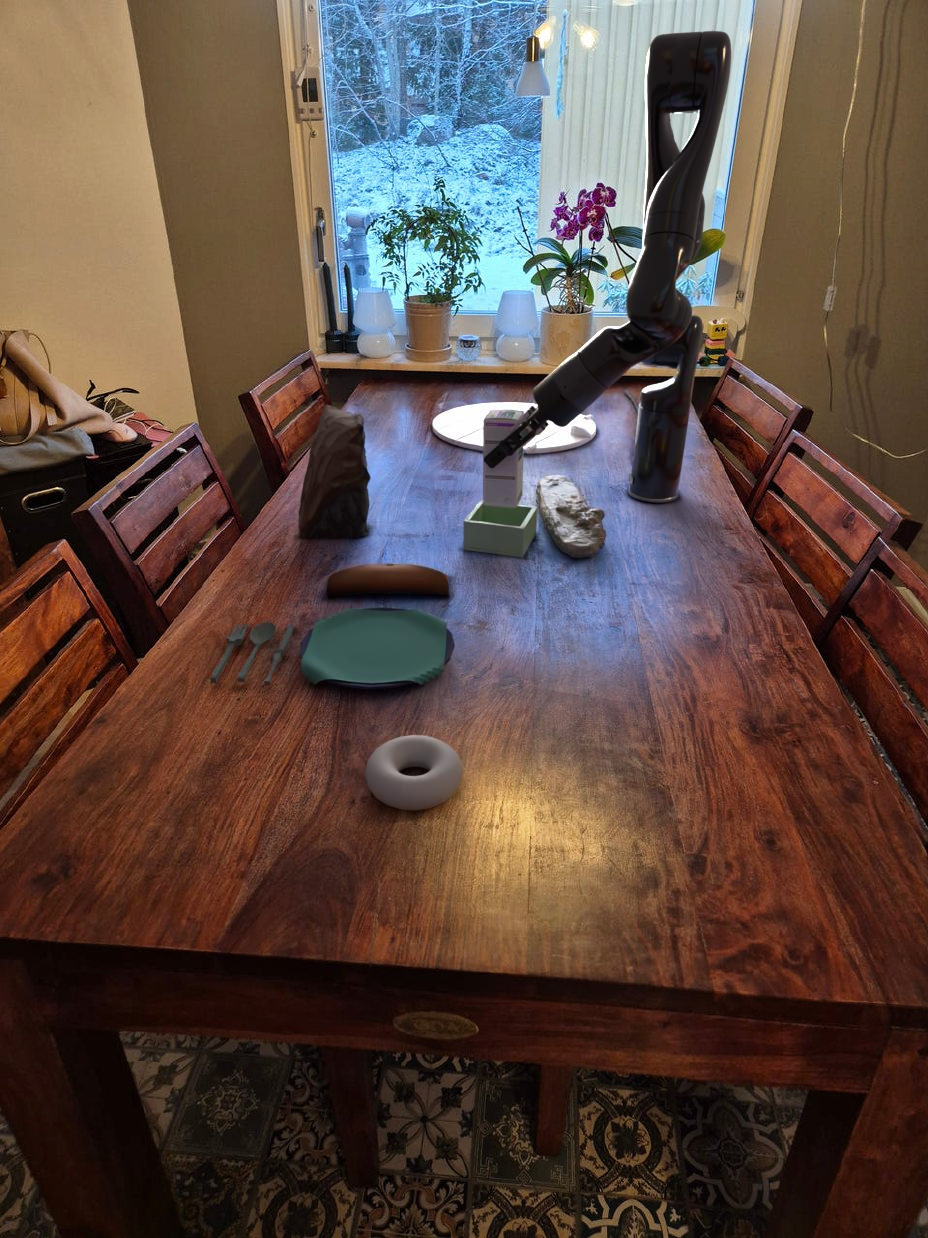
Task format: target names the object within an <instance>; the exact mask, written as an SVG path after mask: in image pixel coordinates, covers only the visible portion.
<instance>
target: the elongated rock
mask: <svg viewBox="0 0 928 1238" xmlns="http://www.w3.org/2000/svg"><path fill="white" fill-rule="evenodd" d="M535 494H536V499H535V502H536V504H537V505H538V506H539V508H540V509H539V510H540V511H539V512H540V517H541V518H542V519H543V520H544V529H545V530H546V531H547V532H548V534H549V535H550V536H551V538H552V540H553V541H554V544H555V546H556V547H557V548H559V549H560V551H561V552H563V553H564V554H566V555H568V556H570V557H571V558H588V557H593V556H597V555H598V553H599V552H598V551H599V549H601V550H602V549H603V548H604V547H605V543H606V542H605V541H606V538H607V531H606V529H605V528H604V525H603V519H604V518H605V517H606V514H605V511H604V510H603V509H601V508H597V507H591V506H589V505H588V502H587V499H586V497H585V495H584V494H583V492H582V491H581V489H580V487H579V486H577V485H576V484H575V483H574V480H573V478H572V477H570V478H569V476H566V475H562V474H555V473H554V474H551V475H546V476H544V477H542V478H541V479H540V480H539V481H538V482H537V485H536V489H535Z"/></svg>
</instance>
